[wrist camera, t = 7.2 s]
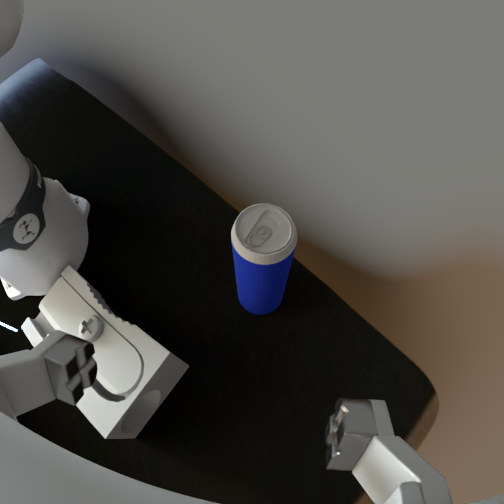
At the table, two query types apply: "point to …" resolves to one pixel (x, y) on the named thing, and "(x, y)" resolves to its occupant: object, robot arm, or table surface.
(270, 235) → the beverage can
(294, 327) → the table surface
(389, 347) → the table surface
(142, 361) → the wedge sharpener
